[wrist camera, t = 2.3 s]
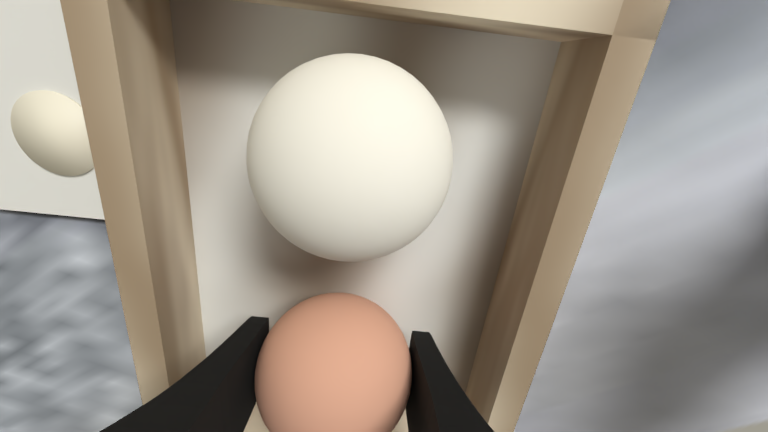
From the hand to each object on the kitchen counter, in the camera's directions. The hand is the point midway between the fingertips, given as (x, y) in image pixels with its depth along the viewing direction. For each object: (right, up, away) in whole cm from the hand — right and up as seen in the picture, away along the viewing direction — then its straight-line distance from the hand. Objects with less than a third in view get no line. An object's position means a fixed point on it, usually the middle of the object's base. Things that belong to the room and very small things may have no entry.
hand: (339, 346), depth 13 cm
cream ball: (+1, +6, -4) cm, 7 cm away
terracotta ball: (0, 0, -1) cm, 1 cm away
